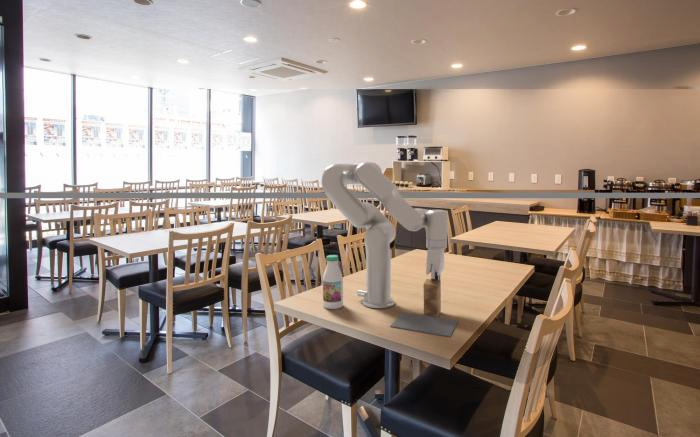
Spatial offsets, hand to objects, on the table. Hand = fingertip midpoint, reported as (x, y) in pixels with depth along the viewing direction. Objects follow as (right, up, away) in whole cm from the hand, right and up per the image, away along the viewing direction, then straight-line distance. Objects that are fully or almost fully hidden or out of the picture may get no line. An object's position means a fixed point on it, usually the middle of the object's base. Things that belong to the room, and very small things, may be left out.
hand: (435, 291), depth 149 cm
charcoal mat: (-6, -9, -13) cm, 17 cm away
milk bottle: (-39, -7, +6) cm, 40 cm away
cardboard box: (-2, -7, -3) cm, 8 cm away
